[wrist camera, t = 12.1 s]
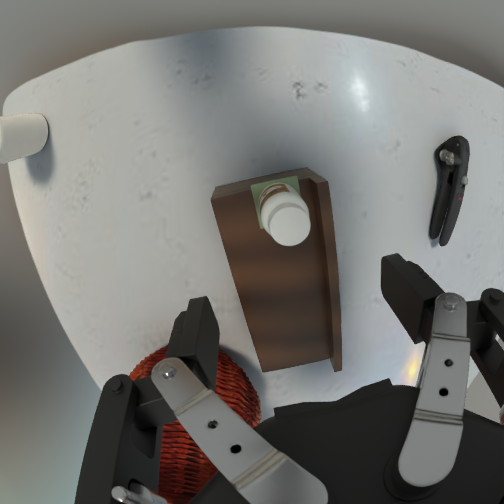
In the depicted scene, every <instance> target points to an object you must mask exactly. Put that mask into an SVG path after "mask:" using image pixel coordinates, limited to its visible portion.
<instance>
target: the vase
mask: <svg viewBox="0 0 504 504" xmlns="http://www.w3.org/2000/svg"><path fill="white" fill-rule="evenodd" d="M167 348H168V345H167V346H166V347H163V348H161V349H160V350H158V351H156V352H155V353H153V354H150V356H148V357H145V359H144V360H142V361H141V362H140V364H138V365H136V368H134V370H133V372H131V373H130V375H129V377H130V378H131V379H132V380H133V381H136V380H139V379H142V378H144V377H147V376H150V375H151V371H152V369H153V368H154V366H155V365H156V364H157V363H158V362H160V361H162V360H164V359H165V356H166V352H167ZM215 393H216V394H217V395H218V396H219V397H220V398H221V399H222V400H223V401H224V402H225V403H226V404H227V405H228V406H229V407H230V408H231V409H232V410H233V411H234V412H235V413H236V414H237V415H238V416H239V417H240V418H241V419H243V420H244V421H245V422H246V423H247V424H248V425H249V426H250V427H251V428H252V429H253V428H254V427H256V426H257V425H258V424H260V419H261V415H260V413H261V411H260V405H261V404H260V400H259V399H258V398H259V396H258V395H257V392H256V391H255V389H254V387H253V385H252V383H251V382H250V381H249V378H248V377H247V376H246V373H245V372H243V369H242V368H240V367H239V366H238V364H236V363H235V362H233V361H232V360H231V358H230V357H228V356H227V354H225V353H223V351H221V350H218V364H217V379H216V392H215ZM217 471H218V468H217V467H216V466H215V465H214V464H213V463H212V462H211V460H210V459H209V458H208V457H207V456H206V455H205V453H204V452H203V451H202V450H201V449H200V447H199V446H198V445H197V444H196V442H195V441H194V440H193V439H192V437H191V436H190V435H189V434H188V432H187V431H186V430H185V428H184V427H183V426H182V424H181V423H180V422H179V420H177V421H174V422H171V423H168V424H165V425H164V426H163V436H162V446H161V457H160V469H159V483H158V494H160V495H161V496H163V497H164V498H165V499H166V501H167V503H168V504H188V503H189V502H190V501H191V500H192V499H193V498H194V497H195V496H196V495H197V493H198V492H199V491H200V490H201V489H202V488H203V487H204V486H205V485H206V483H207V482H208V481H209V480H210V479H211V478H212V477H213V475H214V474H215V473H216V472H217Z"/></svg>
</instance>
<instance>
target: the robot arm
mask: <svg viewBox="0 0 504 504" xmlns="http://www.w3.org/2000/svg"><path fill="white" fill-rule="evenodd" d="M381 291H382V294H383V297H384V298H385V300H386V301H387V303H388V304H389V306H390V307H391V309H392V310H393V312H394V313H395V315H396V316H397V318H398V319H399V321H400V322H401V324H402V325H403V327H404V328H405V330H406V331H407V333H408V334H409V336H410V337H411V339H412V340H413V342H414V344H417V343H420V342H423V341H424V342H425V344H426V345H425V349H424V354H423V358H422V363H421V367H420V371H419V375H418V379H417V383H416V386H415V387H413V386H407V385H392V383H391V381H390V379H389V378H388V379H385V380H382V381H379V382H376V383H373V384H370V385H367V386H364V387H361V388H360V389H358V390H356V391H354V392H352V393H351V394H349V395H347V396H345V397H343V398H341V399H339V400H337V401H332V402H302V403H297V404H292V405H287V406H282V407H276V408H274V413H275V416H273V417H271V418H269V419H267V420H265V421H263V422H261V423H260V424H258V425H257V426H256V427H254V428H253V429H252V428H251V427H250V426H249V425H248V424H247V423H246V422H245V421H244V420H243V419H241V418H240V417H239V416H238V415H237V414H236V413H235V412H234V411H233V410H232V409H231V408H230V407H229V406H228V405H227V404H226V403H225V402H224V401H223V400H222V399H221V398H220V397H219V396H218V395H217V394H216V393H215V392H216V379H217V364H218V350H219V337H220V333H219V326H218V323H217V320H216V317H215V315H214V312H213V310H212V307H211V304H210V302H209V299H208V298H207V296H204V297H199V298H194V299H190V301H189V305H188V309H187V311H183V312H181V313H180V314H179V316H178V317H177V318H176V319H175V322H174V326H173V330H172V333H171V337H170V340H169V344H168V348H167V352H166V356H165V359H164V360H162V361H160V362H158V363H157V364H156V365H155V366H154V368H153V369H152V371H151V375H150V376H147V377H144V378H142V379H139V380H136V381H133V380H132V379H131V378H130V377H129V376H128V375H125V374H119V375H116V376H113V377H112V378H110V379H109V380H108V381H107V382H106V383H105V385H104V387H103V390H102V393H101V397H100V400H99V403H98V406H97V409H96V413H95V416H94V420H93V423H92V427H91V431H90V434H89V438H88V442H87V446H86V450H85V454H84V458H83V463H82V467H81V472H80V477H79V481H78V486H77V492H76V498H75V504H168V503H167V501H166V499H165V498H164V497H163V496H161V495H160V494H158V483H159V469H160V457H161V446H162V436H163V426H164V425H165V424H168V423H171V422H174V421H177V420H179V422H180V423H181V424H182V426H183V427H184V428H185V430H186V431H187V432H188V434H189V435H190V436H191V437H192V439H193V440H194V441H195V442H196V444H197V445H198V446H199V447H200V449H201V450H202V451H203V452H204V453H205V455H206V456H207V457H208V458H209V459H210V460H211V462H212V463H213V464H214V465H215V466H216V467H217V468H218V471H217V472H216V473H215V474H214V475H213V477H212V478H211V479H210V480H209V481H208V482H207V483H206V485H205V486H204V487H203V488H202V489H201V490H200V491H199V492H198V493H197V495H196V496H195V497H194V498H193V499H192V500H191V501H190V502H189V503H188V504H504V350H503V349H502V347H501V346H500V345H499V343H498V342H497V341H496V339H495V337H496V335H497V334H498V335H499V337H500V338H501V339H502V341H503V342H504V292H502V291H500V290H498V289H494V288H489V289H486V290H484V291H483V292H482V294H481V298H480V300H477V301H468V302H466V301H465V299H464V298H463V297H462V296H460V295H458V294H455V293H445V292H444V291H443V290H442V289H441V288H440V287H439V285H438V284H437V283H436V282H435V281H434V280H433V279H432V278H431V277H429V275H428V274H427V273H426V272H424V270H423V269H422V268H421V267H420V266H419V265H417V264H415V263H413V262H411V261H407V262H406V261H405V260H404V259H403V258H402V257H401V256H400V255H399V254H398V253H395V254H391V255H388V256H384V257H382V260H381ZM470 356H471V357H472V359H473V360H474V362H475V364H476V365H477V367H478V369H479V370H480V372H481V373H482V375H483V377H484V379H485V380H486V382H487V384H488V386H489V387H490V389H491V391H492V393H493V395H494V396H495V399H496V400H497V402H498V404H499V406H500V408H501V410H500V423H497V422H494V421H492V420H489V419H487V418H485V417H482V416H480V415H478V414H475V413H473V412H470V411H468V410H466V409H464V404H465V398H466V390H467V382H468V372H469V360H470Z"/></svg>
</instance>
